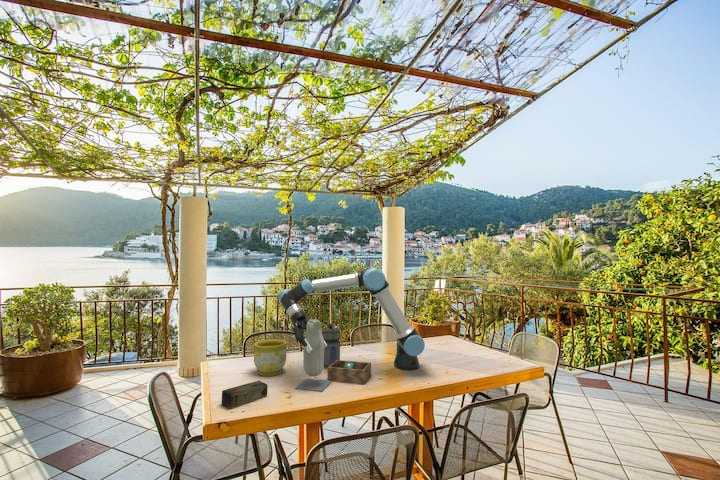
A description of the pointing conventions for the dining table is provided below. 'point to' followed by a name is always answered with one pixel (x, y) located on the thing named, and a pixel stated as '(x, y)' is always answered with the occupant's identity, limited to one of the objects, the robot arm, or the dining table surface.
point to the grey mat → (314, 385)
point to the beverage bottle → (331, 345)
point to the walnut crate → (349, 372)
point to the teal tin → (349, 365)
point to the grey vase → (314, 349)
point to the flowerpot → (270, 356)
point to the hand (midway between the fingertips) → (318, 349)
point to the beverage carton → (244, 394)
